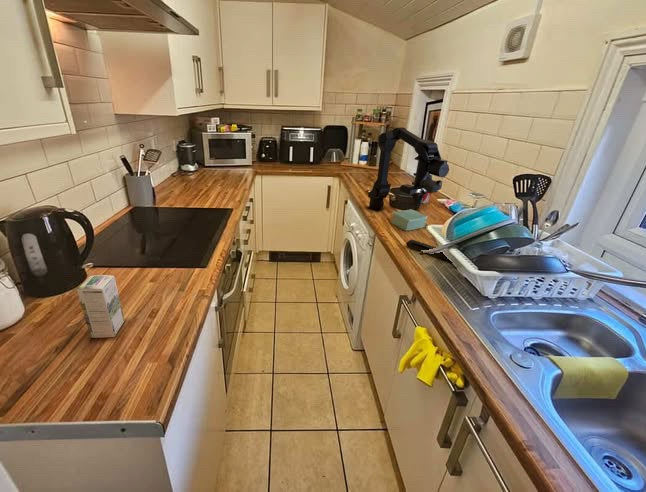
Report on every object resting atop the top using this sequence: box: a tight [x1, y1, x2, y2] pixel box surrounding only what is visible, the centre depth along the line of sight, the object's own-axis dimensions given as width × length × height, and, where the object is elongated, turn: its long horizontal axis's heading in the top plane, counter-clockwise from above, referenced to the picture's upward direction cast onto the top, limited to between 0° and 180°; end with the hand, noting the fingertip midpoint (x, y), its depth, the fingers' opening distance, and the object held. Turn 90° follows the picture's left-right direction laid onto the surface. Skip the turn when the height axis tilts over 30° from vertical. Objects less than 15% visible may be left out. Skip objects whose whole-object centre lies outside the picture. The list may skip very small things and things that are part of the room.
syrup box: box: [76, 274, 125, 339], centre depth 73 cm, size 6×6×14 cm
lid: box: [392, 208, 429, 222], centre depth 140 cm, size 10×12×1 cm
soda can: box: [420, 193, 432, 205], centre depth 172 cm, size 7×7×12 cm
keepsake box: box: [391, 213, 427, 232], centre depth 142 cm, size 10×12×5 cm
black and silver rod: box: [406, 239, 452, 263], centre depth 117 cm, size 18×3×3 cm, turn 47°
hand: (416, 205), depth 136 cm, fingers closed
